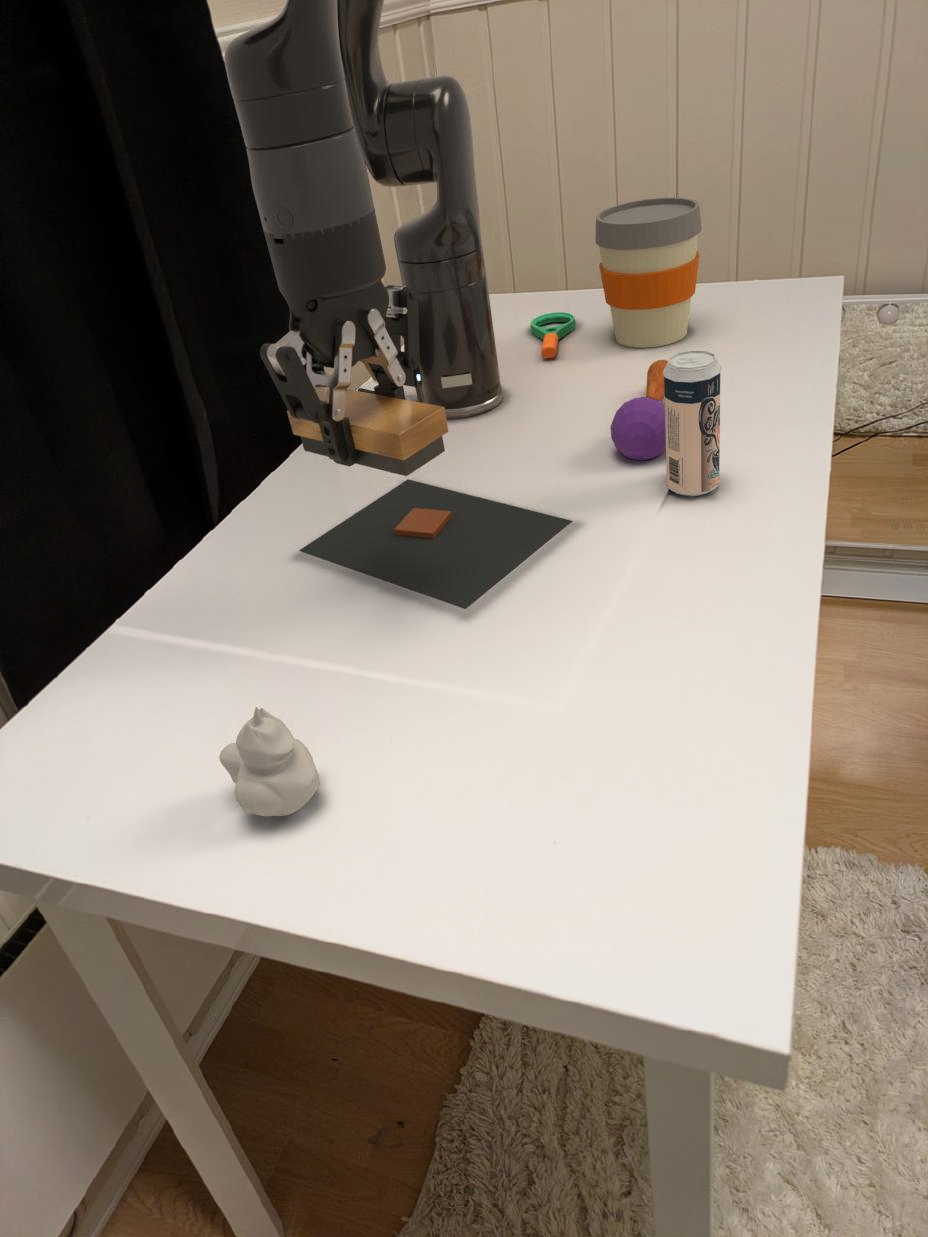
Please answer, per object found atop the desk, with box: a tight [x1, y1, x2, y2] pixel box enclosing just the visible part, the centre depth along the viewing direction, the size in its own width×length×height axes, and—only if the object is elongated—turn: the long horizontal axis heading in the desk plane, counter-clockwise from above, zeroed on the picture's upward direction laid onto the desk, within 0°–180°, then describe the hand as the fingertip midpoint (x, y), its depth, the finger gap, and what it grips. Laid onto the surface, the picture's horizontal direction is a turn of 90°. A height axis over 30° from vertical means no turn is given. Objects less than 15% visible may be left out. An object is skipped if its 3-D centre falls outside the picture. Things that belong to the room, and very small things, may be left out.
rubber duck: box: [218, 706, 321, 817], centre depth 56 cm, size 5×7×8 cm
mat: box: [298, 479, 573, 610], centre depth 82 cm, size 20×15×1 cm
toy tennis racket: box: [530, 311, 576, 359], centre depth 120 cm, size 15×6×2 cm, turn 173°
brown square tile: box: [394, 508, 452, 539], centre depth 83 cm, size 4×4×1 cm
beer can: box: [663, 350, 722, 497], centre depth 79 cm, size 5×5×12 cm
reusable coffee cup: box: [594, 196, 703, 349], centre depth 112 cm, size 13×13×15 cm
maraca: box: [610, 359, 669, 461], centre depth 93 cm, size 6×6×20 cm
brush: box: [286, 388, 449, 477], centre depth 69 cm, size 12×5×4 cm, turn 51°
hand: (371, 446), depth 70 cm, fingers closed on brush, 5 cm apart
